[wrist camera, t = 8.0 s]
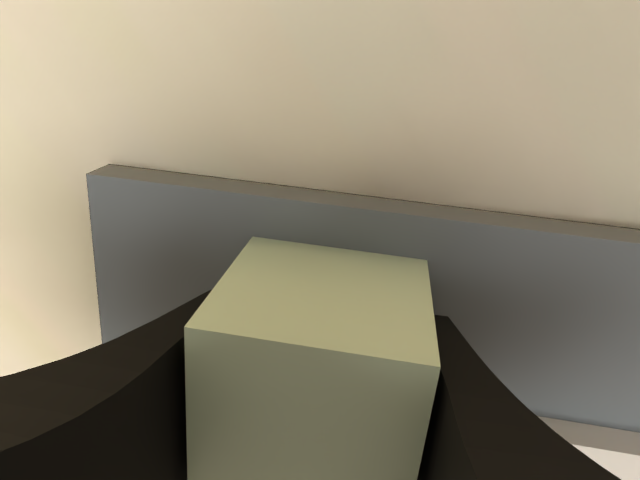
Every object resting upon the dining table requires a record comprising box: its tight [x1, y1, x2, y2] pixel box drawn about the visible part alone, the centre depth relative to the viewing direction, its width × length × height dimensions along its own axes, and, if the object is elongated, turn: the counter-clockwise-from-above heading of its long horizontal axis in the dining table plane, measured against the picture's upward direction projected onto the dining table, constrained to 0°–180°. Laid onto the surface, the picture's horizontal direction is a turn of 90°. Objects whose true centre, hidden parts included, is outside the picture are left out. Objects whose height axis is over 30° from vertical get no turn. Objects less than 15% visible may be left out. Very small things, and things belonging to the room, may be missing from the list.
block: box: [184, 237, 441, 480], centre depth 10 cm, size 4×4×4 cm
